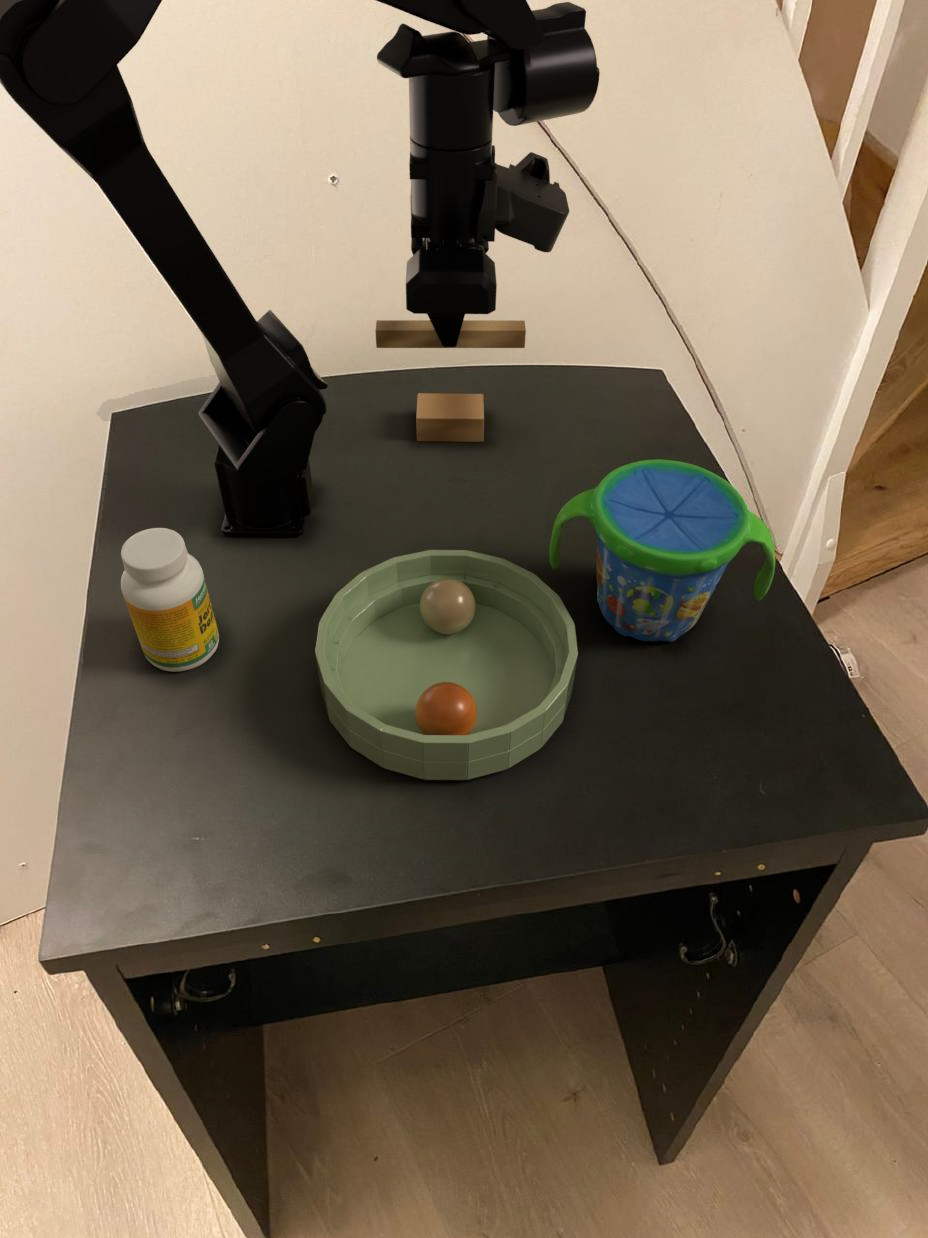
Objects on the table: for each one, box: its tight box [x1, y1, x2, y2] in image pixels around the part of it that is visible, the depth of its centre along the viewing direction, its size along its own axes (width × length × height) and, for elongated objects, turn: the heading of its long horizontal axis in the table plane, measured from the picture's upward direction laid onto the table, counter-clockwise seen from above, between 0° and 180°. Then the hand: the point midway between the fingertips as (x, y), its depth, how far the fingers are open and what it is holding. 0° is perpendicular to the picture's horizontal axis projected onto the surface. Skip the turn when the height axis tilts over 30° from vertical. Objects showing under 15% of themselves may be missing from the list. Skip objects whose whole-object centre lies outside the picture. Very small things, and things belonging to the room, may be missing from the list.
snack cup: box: [548, 459, 776, 643], centre depth 67 cm, size 16×10×10 cm
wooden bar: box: [374, 319, 527, 349], centre depth 76 cm, size 12×2×2 cm, turn 91°
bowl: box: [314, 549, 579, 781], centre depth 64 cm, size 17×17×4 cm
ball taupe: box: [420, 578, 476, 634], centre depth 67 cm, size 4×4×4 cm
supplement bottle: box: [120, 527, 220, 673], centre depth 64 cm, size 5×5×10 cm
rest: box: [415, 392, 485, 443], centre depth 85 cm, size 6×4×2 cm, turn 90°
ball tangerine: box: [415, 682, 477, 735], centre depth 60 cm, size 4×4×4 cm
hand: (449, 340), depth 76 cm, fingers closed on wooden bar, 2 cm apart
